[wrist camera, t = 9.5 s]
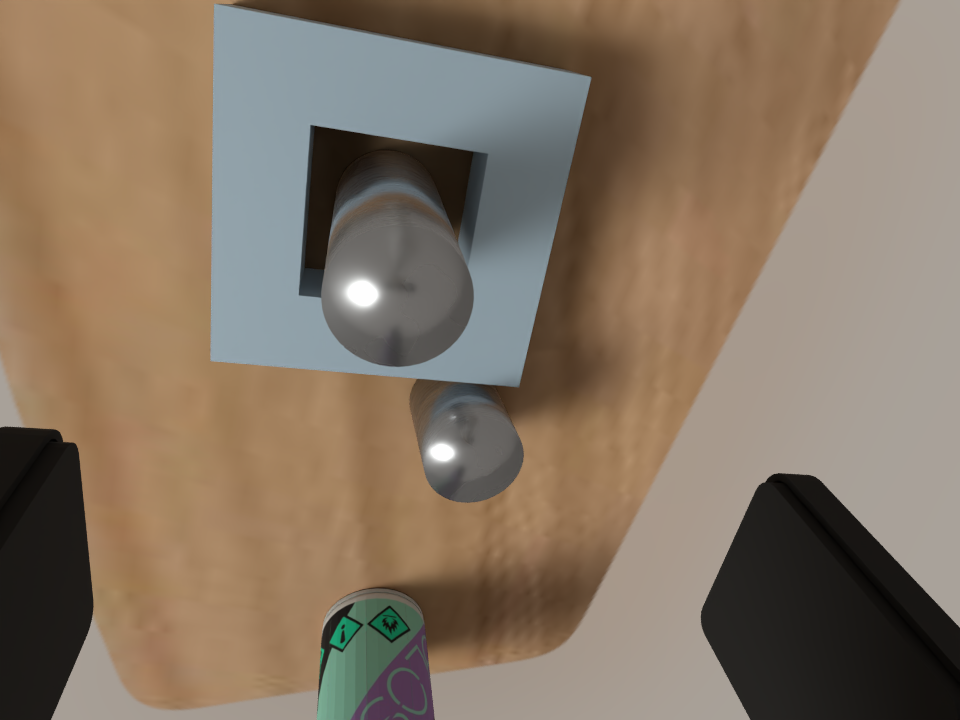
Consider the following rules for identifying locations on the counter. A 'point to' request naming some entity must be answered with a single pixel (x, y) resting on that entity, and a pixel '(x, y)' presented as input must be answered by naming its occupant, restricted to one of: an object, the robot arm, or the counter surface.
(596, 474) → the counter surface
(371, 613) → the spray can
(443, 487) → the short pin
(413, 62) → the collar block
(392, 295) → the long pin
